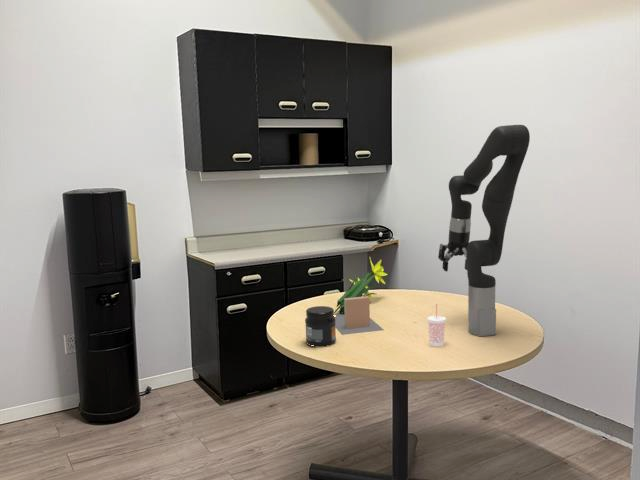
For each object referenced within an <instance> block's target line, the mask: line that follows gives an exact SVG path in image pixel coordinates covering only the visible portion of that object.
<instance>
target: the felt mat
mask: <svg viewBox="0 0 640 480" xmlns="http://www.w3.org/2000/svg"><path fill="white" fill-rule="evenodd" d="M343 313H344V312H342V313H334V314H335V315H336V317H335V319H336V321H335V330H337V331H338V332H339V333H340V335H342V336H343V335H353V334H361V333H362V334H363V333H370V332H378V331H379V332H380V331H385V329H384V328H383V327H381V326H380V325H379V324H378V323H376V321H374V319H372V318H371V317H370V326H368V327H359V328H350V329H346V328H345V313H344V314H343Z"/></svg>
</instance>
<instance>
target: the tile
mask: <svg viewBox="0 0 640 480" xmlns="http://www.w3.org/2000/svg"><path fill="white" fill-rule="evenodd" d="M370 311H371V310H370V298H369V297H368V296H364V297H363V296H362V297H353V298H344V312H343V313H345V328H346V329H350V328H359V327H368V326H370V318H371V316H370V315H371V314H370V313H371V312H370Z"/></svg>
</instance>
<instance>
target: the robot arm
mask: <svg viewBox="0 0 640 480" xmlns="http://www.w3.org/2000/svg"><path fill="white" fill-rule="evenodd" d="M530 139H531V138H530V131H529V129H528V127H527V126H526V125H524V124H506V125H500V126H497V127H495V128H494V129H493V130H492V131H491V132H490V134H489V135H488V137H487V138H486V140H485V141H484V144H483V145H482V147H481V149H480V151H479V152H478V154H477V156H476V157H475V158H474V159H473V160H472V162H471V163H470V164H469V165H468V166H467V167H466V168H465V169H464V172H463V174H462V175H453V176H452V177H451V178H450V179H449V182H448V190H449V195H450V199H451V200H450V202H451V213H450V214H451V215H450V221H449V227H448V228H449V229H448V243H447V244H443V243H440V245H439V248H438V249H439V250H438V256H437V258H438V259H439V260H440V261H441V262H442V270H443V271H444V272H448V271H449V270H448V269H449V261H450V260H451V259H453V257H457V256H460V257H461V256H464V258H465V259H464V269H465V270H466V272H467V273H466V274H467V280H468V282H467V283H468V289H467V290H468V294H467V295H468V299H467V301H468V302H467V304H468V306H467V308H468V310H467V315H468V316H467V320H468V321H467V327H468V328H467V332H468V333H469V334H471V335H474V336H478V337H490V336H496V335H497V308H496V286H497V285H496V277H494V276H493V275H490V274H486V273H484V272H483V270H482V267H492V266H496V265H498V263H499V262H500V261H501V258H502V253H503V245H504V237H505V232H506V227H507V223H508V219H509V215H510V211H511V208H512V204H513V200H514V194H515V190H516V186H517V182H518V179H519V175H520V172H521V169H522V166H523V164H524V161H525V157H526V155H527V152H528V149H529V145H530ZM500 156H506V157H505V159H504V162H503V164H502V165H501V167H500V169H499V170H498V171H497V172H496V173H495V175H494V176H493V177H492V178H491V180H490V181H489V182H488V184H487V185H486V187H485V190H484V193H483V197H482V202H481V210H482V212H483V215H484V217H485V220H486V221H487V223H488V225H489V229H490V231H489V237H488V239H479V240H471V241H470V238H471V237H470V236H471V226H472V219H471V218H472V217H471V216H472V208H473V206H472V203H471V201H468V200H464V199H462V196H467V195H468V196H469V195H474V194H475V193H477V192H478V191H479V189H480V187H481V184H482V182H483V181H484V180H485V179H486V178H487V177H488V176H489V175H490V174H491V172H492V170H493V167H494V162H493V161H494V160H495V159H496V158H498V157H500ZM447 249H448V250H447Z"/></svg>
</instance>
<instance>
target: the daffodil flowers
mask: <svg viewBox="0 0 640 480" xmlns="http://www.w3.org/2000/svg"><path fill="white" fill-rule="evenodd" d="M369 261H370V265H371V271H369V270H368V272H367V273H366V275H365V276H364V278H361V279H360V278H359V277H358V276H357V275H356V273H355V272H353V274H354V279H353V280H352V279H349V281H350V282H351V283H350V286H349V287H348V289H347V290H346V291H345V292H344V293H343V295H342V296H341V297H340V298H339V299H338V300H337V302H336V303H337V305H336V309H335V310H334V314H337V311H338V314H342V313H343V314H344V298H353V297H364V296H368V297H369V300H372V301H373V297H372V295H377V293H376V292H369V290H372V289H374V288H376V287H377V286H370V284H372V283H373V281H372V280H373V279H374V278H375V281H376V282H377V283H378V284H379V283H380V282H381V283H382V284H384V285H386V282H385V281H384V279H383V278H382V277H384V276H388V273H386V272H384V267H383V266H382V265H381V264H382V259H380V260H379V261H378V262H377V263H375V265H374V264H373V262H372V258H371V257H369Z"/></svg>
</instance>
